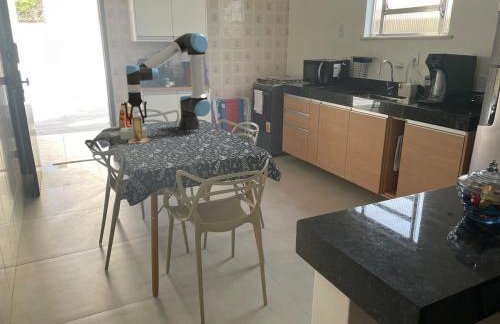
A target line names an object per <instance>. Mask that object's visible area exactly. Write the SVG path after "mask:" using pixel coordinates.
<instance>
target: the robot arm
mask: <svg viewBox="0 0 500 324" xmlns="http://www.w3.org/2000/svg"><path fill="white" fill-rule="evenodd" d="M208 48H209V41H208V39H207V37H206V36H205V35H204V34H202V33H198V32H195V33H194V32H192V33H191V32H190V33H189V32H188V33H187V32H186V33H184V34H182V35H180V36H179V37H177V38H175V40H172V41H171V44H169V45H168V46H166V47H165V48H163V49H162V50H161V51H159V52H158V53H156V54H155V55H153V56H151V57H150V58H149V59H147V60H145V61H144V62H142V63H140V64H139V65H138V64H127V65H126V66H125V74H126V83H127V85H126V88H127V96H128V97H127V98H128V100H127V101H124V105H125V111H126V118H127V119H129V121H130V125H132V130H134V128H133V119H131V118H132V112H133V113H134V108H138V110H139V113H140V117H141V128H142V130H143V127H144V124H145V119H147V117H148V115H147V104H148V103H147V102H148V101H145V100H143V98H142V92H141V90H142V89H141V88H142V87H141V82H144V81H145V82H146V81H148V82H149V81H157V80H158V79H159V77H160V73H159V70H158V69H159V68H160V67H161V66H163V65H164V64H166V63H167V62H169V61H170V60H172V59H173V58H174V57H176V56H177V55H179V56H181V55H183V54H184V53H187V56H188V57H189V63H190V78H191V95H182V96H180V97H179V106H180V107H179V108H180V118H179V122H178V129H181V130H190V131H191V130H197V129H200V128H201V123H200V121H199V118H198V117H201V118H202V117H206V116H208V115H209V113H210V112H211V109H212V108H211V107H212V106H211V103H210V101H209V100H208V95H207V94H206V93H205V92H206V89H205V88H206V87H205V70H204V68H205V67H204V57H205V55H206V51H207V50H208ZM128 103H129V104H130V105H131V111H130V117H129V116H128V107H127V105H128ZM141 105H143V108H144V109H142V107H141ZM143 110H144V112H143ZM143 113H144V114H143Z"/></svg>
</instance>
